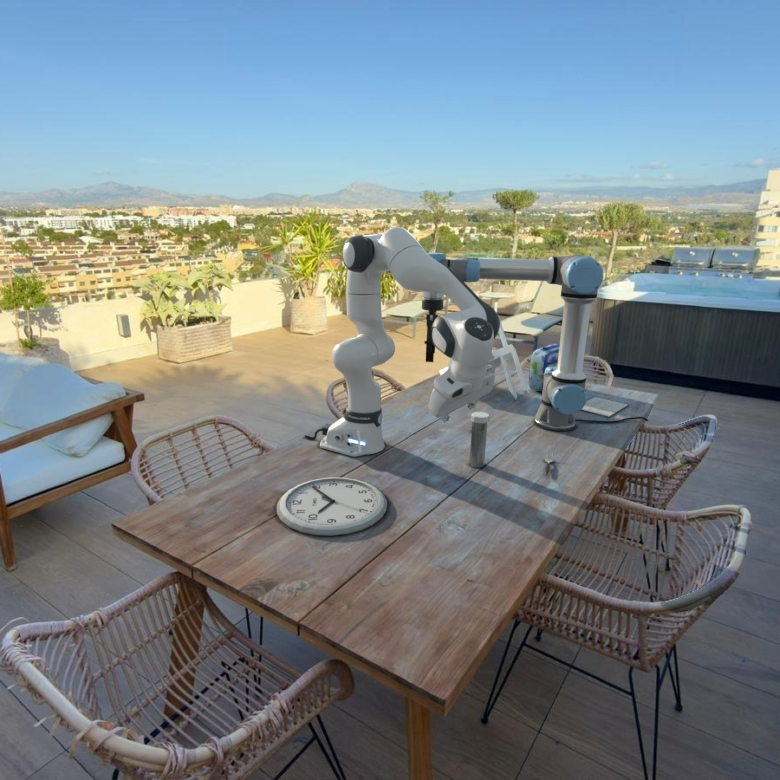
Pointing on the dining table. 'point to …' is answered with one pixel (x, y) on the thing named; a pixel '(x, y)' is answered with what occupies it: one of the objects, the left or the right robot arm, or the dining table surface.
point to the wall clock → (331, 506)
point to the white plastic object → (504, 363)
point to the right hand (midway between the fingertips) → (430, 357)
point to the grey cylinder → (478, 444)
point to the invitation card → (603, 406)
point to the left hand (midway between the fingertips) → (457, 413)
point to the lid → (480, 417)
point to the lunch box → (542, 365)
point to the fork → (548, 462)
